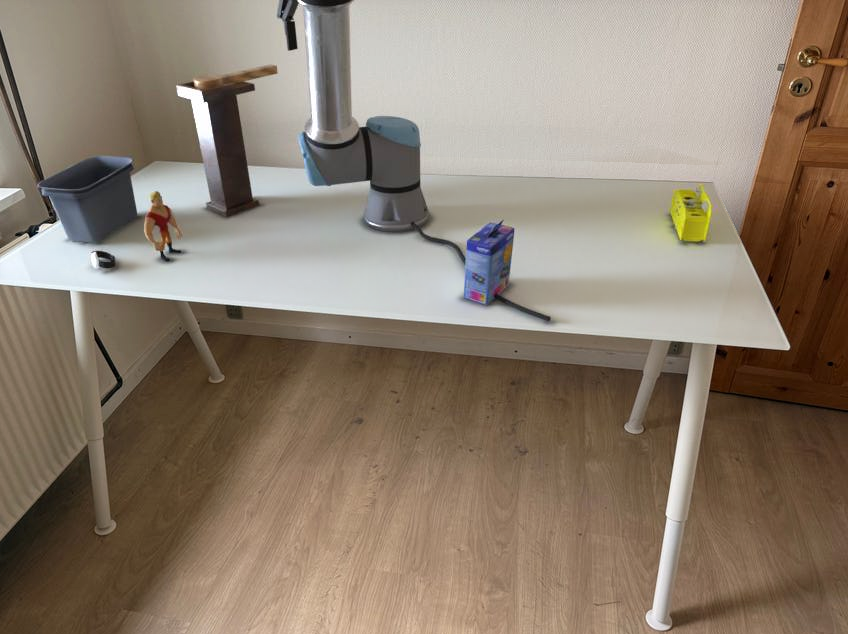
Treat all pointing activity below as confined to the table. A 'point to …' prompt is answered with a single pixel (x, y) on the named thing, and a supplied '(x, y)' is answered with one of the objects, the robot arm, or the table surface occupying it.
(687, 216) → the yellow toy chassis
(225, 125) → the pedestal lectern
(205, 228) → the table surface
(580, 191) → the table surface
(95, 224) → the storage bin
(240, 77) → the wooden spoon
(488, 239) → the ink cartridge box
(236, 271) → the table surface
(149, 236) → the action figure
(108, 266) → the watch
